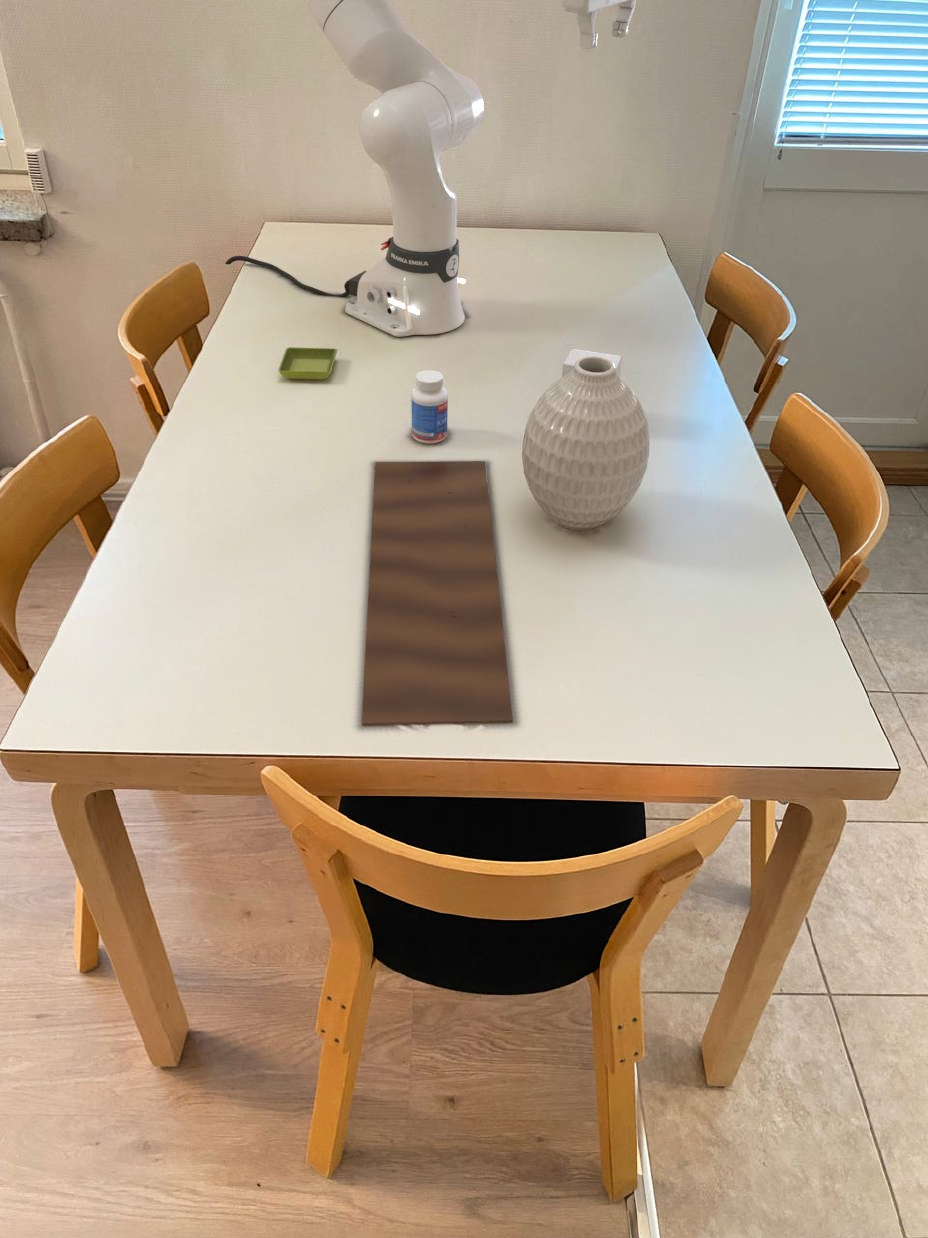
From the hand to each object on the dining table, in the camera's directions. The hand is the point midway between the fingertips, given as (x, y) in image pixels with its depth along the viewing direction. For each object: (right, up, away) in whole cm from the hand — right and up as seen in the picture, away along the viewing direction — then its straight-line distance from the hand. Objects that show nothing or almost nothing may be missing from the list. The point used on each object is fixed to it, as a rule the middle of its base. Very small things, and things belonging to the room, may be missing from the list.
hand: (603, 41), depth 133 cm
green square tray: (-45, -38, +28) cm, 66 cm away
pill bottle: (-24, -52, +13) cm, 59 cm away
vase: (-4, -66, -2) cm, 66 cm away
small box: (0, -49, +17) cm, 52 cm away
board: (-23, -74, -12) cm, 78 cm away
